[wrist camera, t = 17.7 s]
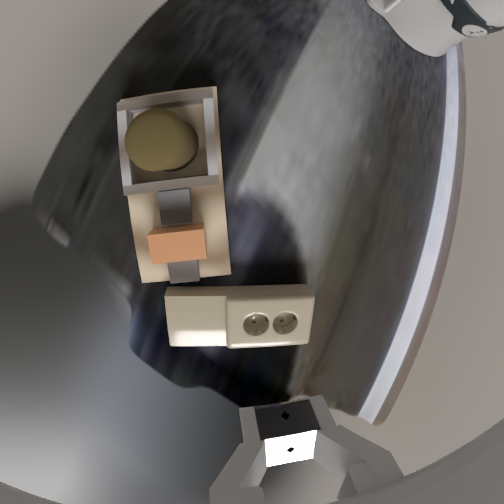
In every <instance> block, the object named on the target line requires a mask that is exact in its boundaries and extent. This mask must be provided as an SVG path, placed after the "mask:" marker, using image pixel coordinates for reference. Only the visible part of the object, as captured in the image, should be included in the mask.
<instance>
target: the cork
mask: <svg viewBox="0 0 504 504" xmlns="http://www.w3.org/2000/svg"><path fill="white" fill-rule="evenodd" d="M124 141H125V149H126V152H127V154H128V157H129V158H130V159H131V161H132V162H133V163H134V164H135V165H136V166H138V167H140V168H142V169H143V170H148V171H160V170H164V171H169V172H171V171H178V170H181V169H183V168H185V167H187V166H188V165H189V164H190V163H191V162H192V161H193V160H194V158H195V156H196V155H197V152H198V147H199V140H198V135H197V133H196V131H195V129H194V128H193V127H192V126H191V125H190V124H189V123H187V122H186V121H184V120H182V119H181V118H180V117H179V116H178V114H176V113H175V112H173V111H171V110H169V109H164V108H154V109H148V110H146V111H144V112H142V113H140V114H138V115H137V116H136V117H135V118H134V119H133V120H132V121H131V123H130V125H129V126H128V128H127V130H126V134H125V139H124Z"/></svg>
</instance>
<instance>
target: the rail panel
mask: <svg viewBox="0 0 504 504" xmlns="http://www.w3.org/2000/svg"><path fill="white" fill-rule="evenodd" d="M154 108H164V109H169V110H171V111H173V112H175V113H176V114H178V116H179V117H180V118H181V119H182V120H184V121H186V122H187V123H189V124H190V125H191V126H192V127H193V128H194V129H195V131H196V133H197V135H198V140H199V147H198V152H197V155H196V156H195V158H194V160H193V161H192V162H191V163H190V164H189V165H188V166H187V167H185V168H183V169H181V170H178V171H171V172H169V171H164V170H160V171H148V170H143V169H142V168H140V167H138V166H136V165H135V164H134V163H133V162H132V161H131V159H130V158H129V157H128V154H127V152H126V149H125V141H124V139H125V134H126V130H127V128H128V126H129V125H130V123H131V121H132V120H133V119H134V118H135V117H136V116H137V115H138V114H140V113H142V112H144V111H146V110H148V109H154ZM117 122H118V139H119V152H120V164H121V174H122V183H123V192H124V196H126V195H128V202H129V209H130V216H131V223H132V230H133V236H134V242H135V248H136V253H137V259H138V264H139V269H140V274H141V279H142V283H148V282H159V281H170V283H171V284H172V283H183V282H193V281H200V278H201V277H211V276H221V275H231V267H230V257H229V246H228V234H227V223H226V211H225V199H224V187H223V174H222V161H221V147H220V133H219V118H218V102H217V86H213V87H202V88H192V89H183V90H175V91H168V92H161V93H155V94H148V95H143V96H137V97H132V98H127V99H122V100H120V102H118V103H117ZM200 223H204V226H205V235H206V244H207V259H199V260H189V261H179V262H169V263H159V264H152V262H151V257H150V251H149V245H148V239H147V235H148V234H149V232H150V231H151V230H152V229H154V228H163V227H172V226H181V225H190V224H200Z"/></svg>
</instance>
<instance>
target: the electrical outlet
mask: <svg viewBox="0 0 504 504" xmlns="http://www.w3.org/2000/svg"><path fill="white" fill-rule="evenodd" d="M314 302H315V296H314V294H313V293H312V291H311V290H310V288H309V287H308V286H307V284H292V285H259V286H201V287H167V290H166V293H165V307H166V316H167V325H168V333H169V341H170V346H227V347H228V348H252V347H270V346H285V345H297V344H307V343H308V342H309V337H310V331H311V324H312V317H313V310H314Z"/></svg>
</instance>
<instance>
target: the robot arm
mask: <svg viewBox="0 0 504 504" xmlns="http://www.w3.org/2000/svg"><path fill="white" fill-rule="evenodd" d="M367 3H368V4H369V6H370V7H371V8H373V9H374V10H375V11H376V12H378V13H379V14H380V15H382V16H383V17H384V18H385V19H386V20H387V21H388V23H389V24H390V25H391V27H392V28H393V29H394V30H395V32H396V33H397V34H398V35H399V36H400V37H401V38H402V39H403V40H404V41H405V42H406V43H408V44H409V45H410V46H411V47H413V48H414V49H416V50H417V51H419V52H421V53H423V54H426V55H429V56H434V57H437V56H442V55H444V54H446V53H447V52H448V51H449V50H450V49H451V48H452V47H453V46H455V45H456V44H458V43H460V42H461V41H463V40H465V39H467V38H469V37H477V36H482V35H485V34H490V33H493V32H496V31H500V30H502V29H503V28H504V0H367ZM239 410H240V419H241V426H242V433H243V440H244V443H241V444H239V446H238V448H237V449H236V450H235V452H234V454H233V455H232V457H231V458H230V460H229V461H228V463H227V464H226V466H225V467H224V469H223V470H222V472H221V473H220V474H219V476H218V477H217V479H216V480H215V482H214V483H213V485H212V486H211V488H210V489H209V491H210V492H209V494H210V504H265V499H264V494H263V490H262V488H260V487H258V486H259V484H260V482H261V480H262V477H263V475H264V473H265V471H266V469H267V466H272V465H278V464H283V463H288V462H293V461H299V460H304V459H309V458H313V459H314V460H315V461H316V462H318V463H319V464H320V465H321V466H323V467H324V468H325V469H327V470H328V471H329V472H331V473H332V474H333V475H335V476H336V477H337V478H339V479H340V480H341V481H343V484H342V486H341V489H340V491H339V493H338V496H337V499H338V501H335V502H332V503H329V504H504V419H502V420H501V421H499V422H498V423H497V424H495V425H494V426H492V427H491V428H490V429H488V430H487V431H485V432H484V433H482V434H481V435H479V436H478V437H477V438H475V439H473V440H472V441H470V442H469V443H467V444H465V445H464V446H462V447H461V448H459V449H457V450H455V451H454V452H452V453H450V454H448V455H447V456H445V457H443V458H441V459H439V460H437V461H436V462H434V463H432V464H430V465H428V466H426V467H424V468H422V469H420V470H418V471H416V472H413V473H411V474H409V475H407V476H405V477H404V475H403V473H402V472H401V470H400V468H399V467H398V465H397V463H396V461H395V459H394V458H393V456H392V454H391V452H390V451H388V450H386V449H384V448H382V447H380V446H378V445H376V444H374V443H372V442H371V441H368V440H367V439H365V438H363V437H361V436H359V435H357V434H356V433H354V432H352V431H350V430H348V429H347V428H344V427H343V426H341V425H338V426H336V424H335V422H334V420H333V417H332V415H331V413H330V411H329V409H328V407H327V404H326V402H325V400H324V398H323V396H322V395H318V396H313V397H309V398H303V399H298V400H294V401H288V402H282V403H278V404H271V405H263V406H254V407H246V408H239ZM0 504H61V503H57V502H54V501H51V500H47V499H44V498H41V497H38V496H35V495H32V494H29V493H27V492H24V491H22V490H19V489H17V488H14V487H12V486H9V485H7V484H5V483H2V482H0Z"/></svg>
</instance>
